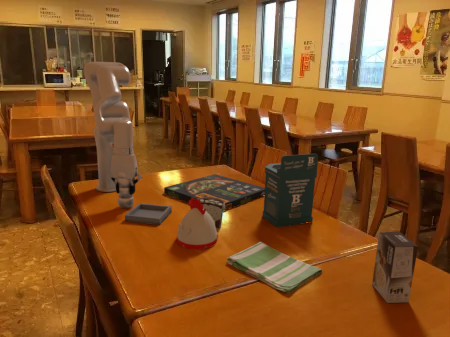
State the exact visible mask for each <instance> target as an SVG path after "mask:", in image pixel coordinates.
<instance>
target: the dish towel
mask: <svg viewBox="0 0 450 337" xmlns="http://www.w3.org/2000/svg"><path fill="white" fill-rule="evenodd" d="M226 260H227V262H226V264H229V265H231V267H234V268H235V269H237V270H239V271H241V272H243V273H245V274H248V275H249V276H251V277H253V278H255V279H256V280H259V281H261V282H263V283H265V284H266V285H268V286H270V287H271V288H273V289H276V290H278V291H281V292H284V293H285V294H291V293H292V292H294V291H295V290H297V289H298V288H299V287H301V286H302V285H304V284H305V283H306V282H308V281H309V280H310V279H314V278H316V277H317V276H319V275H320V274H322V273H323V269H321V268H319V267H318V266H314V265H311V264H308V263H306V262H304V261H302V260H300V259H299V260H298V259H297V258H294V257H292V256H289V255H287V254H285V253H283V252H281V251H279V250H278V249H275V248H273V247H271V246H269V245H267V244H266V243H264V242H262V241H259V242H258V243H256V244H254V245H251V246H249V247H248V248H246V249H243V250H241V251H238V252H237V253H235V254H233V255H231V256H228V257H227V258H226Z"/></svg>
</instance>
